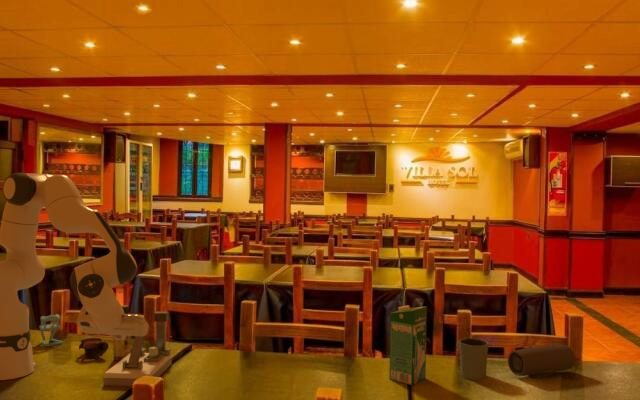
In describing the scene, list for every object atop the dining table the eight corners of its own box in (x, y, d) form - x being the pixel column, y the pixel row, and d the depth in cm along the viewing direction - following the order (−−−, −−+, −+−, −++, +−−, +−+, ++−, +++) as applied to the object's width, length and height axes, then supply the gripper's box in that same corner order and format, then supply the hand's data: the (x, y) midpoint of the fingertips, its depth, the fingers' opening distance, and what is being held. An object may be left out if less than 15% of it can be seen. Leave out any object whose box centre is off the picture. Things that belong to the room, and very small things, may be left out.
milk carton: (402, 372, 191) (404, 302, 190) (425, 378, 185) (427, 305, 184) (389, 379, 184) (390, 306, 183) (412, 385, 178) (413, 310, 177)
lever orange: (124, 366, 178) (135, 322, 187) (126, 369, 180) (137, 325, 189) (137, 367, 178) (148, 323, 187) (139, 369, 179) (150, 326, 189)
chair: (57, 339, 226) (57, 310, 225) (62, 343, 219) (62, 314, 219) (36, 342, 221) (36, 313, 220) (41, 347, 214) (41, 317, 214)
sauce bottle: (127, 362, 198) (127, 308, 197) (110, 361, 198) (110, 307, 197) (133, 356, 204) (134, 304, 204) (117, 356, 204) (117, 304, 204)
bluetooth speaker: (556, 367, 198) (556, 340, 198) (576, 375, 190) (577, 347, 189) (506, 374, 190) (506, 346, 190) (525, 383, 181) (525, 353, 181)
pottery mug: (72, 362, 198) (73, 340, 202) (87, 366, 207) (88, 344, 210) (102, 355, 197) (102, 333, 201) (116, 359, 205) (116, 338, 209)
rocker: (130, 352, 192) (130, 348, 192) (133, 350, 195) (134, 345, 195) (141, 355, 192) (142, 350, 192) (145, 352, 195) (145, 348, 195)
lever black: (153, 355, 192) (154, 313, 192) (156, 353, 195) (156, 311, 194) (166, 356, 192) (166, 313, 192) (168, 354, 194) (168, 311, 194)
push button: (147, 358, 187) (147, 349, 187) (150, 355, 190) (150, 346, 190) (156, 358, 187) (156, 349, 187) (159, 355, 190) (159, 346, 190)
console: (103, 385, 175) (103, 365, 174) (131, 363, 197) (131, 345, 196) (149, 386, 174) (149, 367, 174) (171, 364, 196) (171, 346, 196)
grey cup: (467, 381, 182) (468, 346, 182) (452, 371, 192) (453, 338, 192) (493, 379, 185) (494, 344, 184) (477, 369, 195) (478, 336, 194)
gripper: (144, 307, 162) (155, 330, 172) (78, 303, 163) (93, 327, 173) (138, 325, 158) (150, 348, 168) (70, 322, 159) (86, 345, 169)
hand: (120, 337), depth 171 cm, fingers closed
